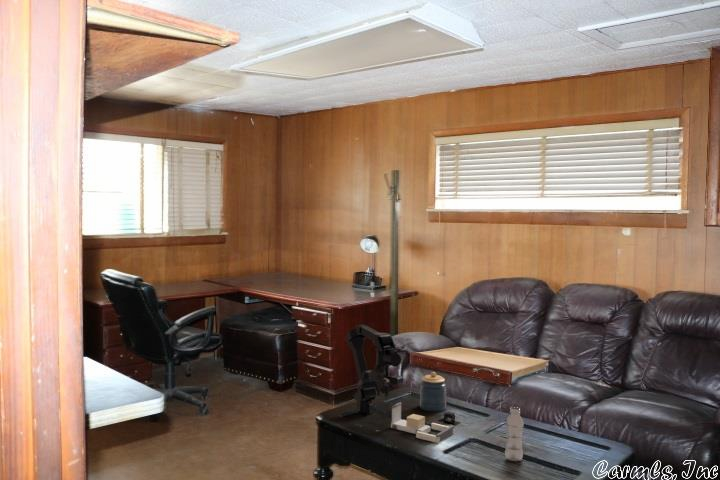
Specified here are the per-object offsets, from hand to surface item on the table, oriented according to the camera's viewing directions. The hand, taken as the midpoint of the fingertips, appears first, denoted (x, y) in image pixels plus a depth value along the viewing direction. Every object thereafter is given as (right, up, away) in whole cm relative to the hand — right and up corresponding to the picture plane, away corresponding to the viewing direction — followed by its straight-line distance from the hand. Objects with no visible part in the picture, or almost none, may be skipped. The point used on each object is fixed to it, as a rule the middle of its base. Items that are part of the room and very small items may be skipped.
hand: (382, 396), depth 271 cm
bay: (+22, -13, -15) cm, 30 cm away
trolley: (+12, -13, -8) cm, 19 cm away
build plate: (+31, -13, +2) cm, 33 cm away
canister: (+26, -12, +23) cm, 36 cm away
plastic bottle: (+49, -14, -41) cm, 65 cm away
